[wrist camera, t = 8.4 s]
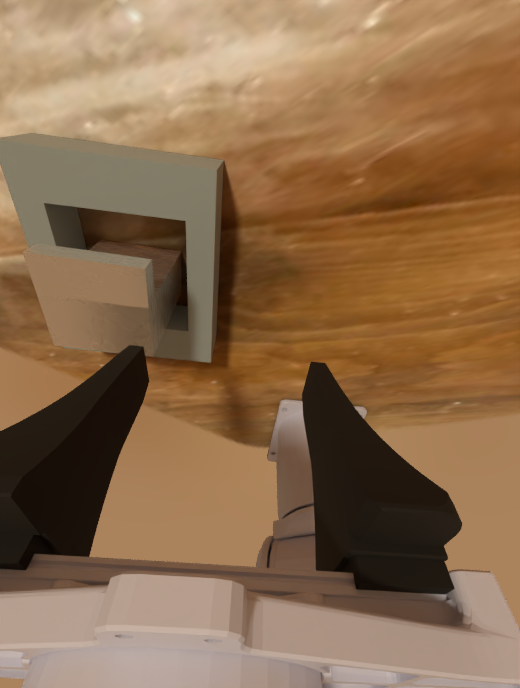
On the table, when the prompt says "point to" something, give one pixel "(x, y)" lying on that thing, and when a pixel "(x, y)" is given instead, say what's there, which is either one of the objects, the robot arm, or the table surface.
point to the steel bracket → (106, 293)
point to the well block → (125, 197)
